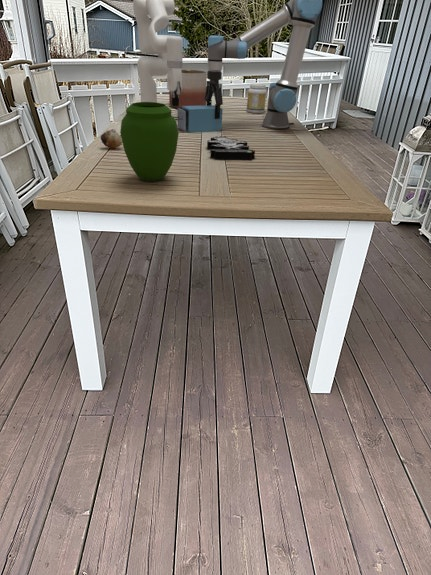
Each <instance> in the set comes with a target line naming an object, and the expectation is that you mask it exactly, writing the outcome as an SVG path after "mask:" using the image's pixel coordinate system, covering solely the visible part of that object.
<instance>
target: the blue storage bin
mask: <svg viewBox="0 0 431 575" xmlns="http://www.w3.org/2000/svg"><path fill="white" fill-rule="evenodd" d="M183 109H185V110H187V111H189V123H188V129H187V128H186V130H185V132H188V133H205V132H221V131H222V126H223V124H222V123H223V107H220V119H215V104H212V105H205V106H182V110H183Z"/></svg>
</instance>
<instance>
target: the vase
mask: <svg viewBox="0 0 431 575" xmlns="http://www.w3.org/2000/svg"><path fill="white" fill-rule="evenodd" d="M125 113H126V114H125V115H124V117H122V119H121V122H120V123H121V124H120V130H119V133H120V134H119V135H120V136H121V138H122V142H123V143H122V147H123V150H124V154H125V155H126V158H127V160H128V163H129V165H130V167H131V168H132V170H133V172H134V173H135V175H136V176H137V177H138V178H139V179H141V180H143V181H145V182H159V181H161V180H163V179H164V178H165V176H166V175H167V174H168V173H169V170H170V169H171V167H172V165H173V162H174V159H175V157H176V156H175V155H176V153H177V147H178V140H179V129H178V128H179V127H178V122H177V120H175V119H176V118H173V117H174V116H173V115H172V109H171V108H170V107H169V106H167V105H166V104H164V103H162V102H157V103H156V102H141V101H138V102H132V103H131V104H130V105H128V107H127V108H125Z"/></svg>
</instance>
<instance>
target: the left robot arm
mask: <svg viewBox="0 0 431 575" xmlns="http://www.w3.org/2000/svg"><path fill="white" fill-rule="evenodd" d="M132 9H133V14H134V17H135V20H136V24H137V25H136V26H137V38H138V49H139V52H140V53H141V54H145V55H157V56H141V57H140V58H138V60H137V62H136V65H137V71H138V77H139V93H140V94H139V95H140V102H156V103H158V96H157V95H158V94H157V93H158V92H157V90H158V89H157V83H156V80H155V79H154V78H153V77H163V76H166V88H167V89H166V90H168V91H169V90H170V91H171V95H172V106H179V94H180V91H182V71H181V70H184V68H183V38H182V37H181V36H180V35H179V36H178V35H168V34H157V33H158V32H161V31H163V30H165V29H166V28H167V27H168V25H169V24H170V17H169V16H172V15H173V14H174V12H175V9H176V4H175V0H133V2H132ZM172 106H171V107H172Z"/></svg>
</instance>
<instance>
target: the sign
mask: <svg viewBox="0 0 431 575" xmlns="http://www.w3.org/2000/svg"><path fill="white" fill-rule="evenodd" d="M206 148H207V149H208V150H209V153H210V154H209V155H210V158H211V159H214V160H246V161H247V160H249V161H250V160H252V159H255V156H256V155H255V154H256V150H255V149H250V146H249V145H248V142H247V141H246V140H238V139H237V138H228V137H227V136H226V135H220V136H213V137H210V140H207V143H206Z"/></svg>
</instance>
